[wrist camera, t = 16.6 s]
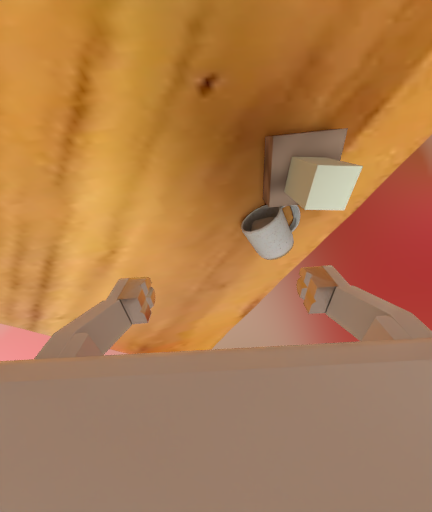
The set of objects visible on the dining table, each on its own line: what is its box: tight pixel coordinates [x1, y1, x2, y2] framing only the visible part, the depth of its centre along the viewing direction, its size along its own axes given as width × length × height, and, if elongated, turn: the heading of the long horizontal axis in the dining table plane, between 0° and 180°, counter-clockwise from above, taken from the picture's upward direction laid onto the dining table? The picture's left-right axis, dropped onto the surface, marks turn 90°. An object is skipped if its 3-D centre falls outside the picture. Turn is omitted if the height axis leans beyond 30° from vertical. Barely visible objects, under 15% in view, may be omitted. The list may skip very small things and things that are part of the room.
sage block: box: [284, 157, 363, 210], centre depth 25 cm, size 5×5×8 cm
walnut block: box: [263, 128, 348, 207], centre depth 30 cm, size 10×10×5 cm
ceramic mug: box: [241, 205, 300, 260], centre depth 34 cm, size 11×8×8 cm
